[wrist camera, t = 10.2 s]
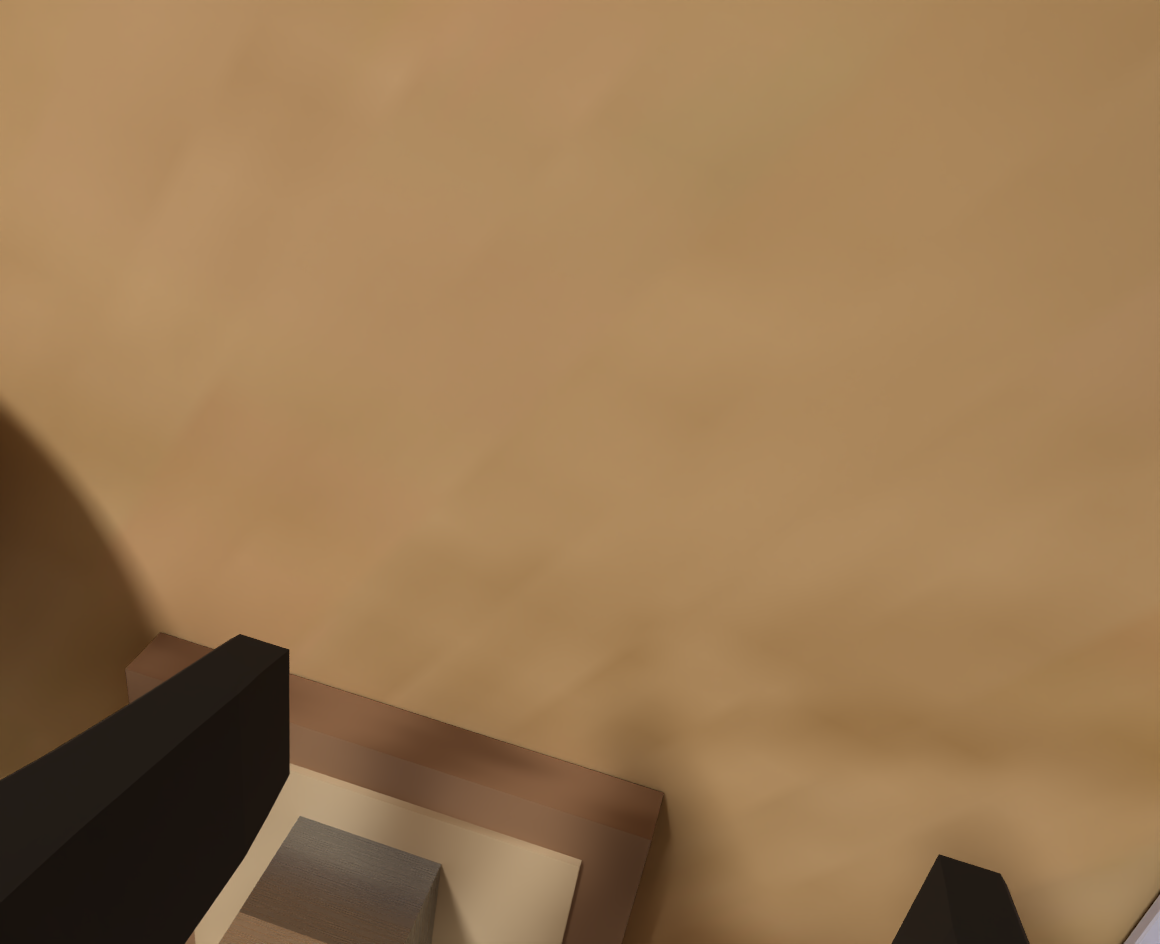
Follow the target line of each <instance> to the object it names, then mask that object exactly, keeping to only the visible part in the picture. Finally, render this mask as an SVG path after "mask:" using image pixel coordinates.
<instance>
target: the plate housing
mask: <svg viewBox="0 0 1160 944" xmlns="http://www.w3.org/2000/svg"><path fill="white" fill-rule="evenodd" d="M440 871H441V864H440V863H437V862H434V861H431V860H428V859H425V858H422V857H419V856H416V855H414V854H411V853H408V852H405V851H402V850H399V849H396V848H393V847H390V846H387V845H384V844H381V843H378V842H375V841H372V840H370V839H367V838H364V837H361V836H358V835H355V834H352V833H349V832H346V831H343V830H340V829H337V828H334V827H331V826H328V825H326V824H323V823H320V822H317V821H314V820H311V819H308V818H305V817H302V816H299V818H298V819H297V821H296V823H295V824H294V826H293V827H292V829H291V830H290V832H289V834H288V835H287V837H286V838H285V840H284V841H283V843H282V845H281V846H280V848H279V849H278V851H277V852H276V854H275V856H274V857H273V859H272V860H271V862H270V863H269V865H268V867H267V868H266V870H265V871H264V873H263V874H262V876H261V878H260V879H259V881H258V882H257V884H256V885H255V887H254V889H253V890H252V892H251V893H250V895H249V897H248V898H247V900H246V901H245V903H244V904H243V906H242V908H241V909H240V911H239V912H238V914H237V915H236V917H235V919H234V920H233V922H232V923H231V925H230V926H229V928H228V930H227V931H226V933H225V934H224V936H223V937H222V939H221V941H220V942H219V944H432V936H433V928H434V920H435V911H436V903H437V895H438V887H439V879H440Z"/></svg>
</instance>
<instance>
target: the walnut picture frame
mask: <svg viewBox="0 0 1160 944" xmlns="http://www.w3.org/2000/svg"><path fill="white" fill-rule="evenodd" d="M213 650H214V649H210V648H207V647H204V646H201V645H198V644H195V643H192V642H188V641H185V640H182V639H179V638H176V637H173V636H170V635H167V634H163V633H159V634H158V635H157V636H156V637H155V638H154V640H153V641H152V642H151V643H150V644H149V645H148V646H147V647H146V648H145V649H144V650H143V651H142V652H141V653H140V654H139V655H138V656H137V657H136V658H135V659H134V660H133V661H132V662H131V663H130V664H129V665H128V666H127V667H126V668H125V672H126V680H127V688H128V696H129V704H130V703H131V702H133V701H135V700H136V699H138V698H139V697H141V696H142V695H144V694H146V693H147V692H149V691H150V690H152V689H153V688H155V687H157V686H158V685H160V684H161V683H163V682H164V681H166V680H168V679H169V678H171V677H172V676H174V675H175V674H177V673H178V672H180V671H182V670H183V669H185V668H186V667H188V666H189V665H191V664H192V663H194V662H195V661H197V660H199V659H200V658H202V657H203V656H205V655H206V654H208V653H209V652H211V651H213ZM289 709H290V775H289V777H288V779H287V781H286V782H285V784H284V786H283V788H282V790H281V792H280V794H279V796H278V798H277V800H276V801H275V803H274V805H273V807H272V809H271V811H270V813H269V815H268V817H267V819H266V820H265V822H264V824H263V826H262V828H261V829H260V831H259V833H258V835H257V837H256V838H255V840H254V842H253V844H252V846H251V847H250V849H249V851H248V853H247V855H246V856H245V858H244V859H243V861H242V862H241V864H240V865H239V867H238V868H237V870H236V871H235V872H234V874H233V875H232V877H231V878H230V880H229V881H228V883H227V884H226V886H225V887H224V888H223V890H222V891H221V893H220V894H219V896H218V897H217V898H216V900H215V901H214V903H213V904H212V906H211V907H210V909H209V910H208V911H207V913H206V914H205V916H204V917H203V919H202V920H201V921H200V923H199V924H198V926H197V927H196V929H195V930H194V931H193V933H192V934H191V936H190V937H189V938H188V940H187V941H186V943H185V944H219V942H220V941H221V939H222V937H223V936H224V934H225V933H226V931H227V930H228V928H229V926H230V925H231V923H232V922H233V920H234V919H235V917H236V915H237V914H238V912H239V911H240V909H241V908H242V906H243V904H244V903H245V901H246V900H247V898H248V897H249V895H250V893H251V892H252V890H253V889H254V887H255V885H256V884H257V882H258V881H259V879H260V878H261V876H262V874H263V873H264V871H265V870H266V868H267V867H268V865H269V863H270V862H271V860H272V859H273V857H274V856H275V854H276V852H277V851H278V849H279V848H280V846H281V845H282V843H283V841H284V840H285V838H286V837H287V835H288V834H289V832H290V830H291V829H292V827H293V826H294V824H295V823H296V821H297V819H298V818H299V816H302V817H305V818H308V819H311V820H314V821H317V822H320V823H323V824H326V825H328V826H331V827H334V828H337V829H340V830H343V831H346V832H349V833H352V834H355V835H358V836H361V837H364V838H367V839H370V840H372V841H375V842H378V843H381V844H384V845H387V846H390V847H393V848H396V849H399V850H402V851H405V852H408V853H411V854H414V855H416V856H419V857H422V858H425V859H428V860H431V861H434V862H437V863H440V864H441V871H440V879H439V887H438V895H437V903H436V911H435V920H434V928H433V936H432V944H622V941H623V937H624V934H625V931H626V927H627V924H628V920H629V917H630V913H631V910H632V906H633V903H634V900H635V896H636V893H637V889H638V886H639V882H640V879H641V875H642V872H643V868H644V865H645V862H646V858H647V855H648V851H649V848H650V844H651V841H652V837H653V833H654V829H655V825H656V821H657V818H658V814H659V810H660V806H661V802H662V798H663V794H664V793H662V792H659V791H656V790H653V789H650V788H647V787H643V786H640V785H637V784H634V783H631V782H628V781H625V780H621V779H618V778H615V777H612V776H609V775H606V774H603V773H600V772H596V771H593V770H590V769H587V768H584V767H581V766H578V765H574V764H571V763H568V762H565V761H562V760H559V759H556V758H552V757H549V756H546V755H543V754H540V753H537V752H534V751H530V750H527V749H524V748H521V747H518V746H515V745H512V744H509V743H505V742H502V741H499V740H496V739H493V738H490V737H487V736H483V735H480V734H477V733H474V732H471V731H468V730H465V729H461V728H458V727H455V726H452V725H449V724H446V723H443V722H440V721H436V720H433V719H430V718H427V717H424V716H421V715H418V714H414V713H411V712H408V711H405V710H402V709H399V708H396V707H392V706H389V705H386V704H383V703H380V702H377V701H374V700H370V699H367V698H364V697H361V696H358V695H355V694H352V693H349V692H345V691H342V690H339V689H336V688H333V687H330V686H327V685H323V684H320V683H317V682H314V681H311V680H308V679H305V678H301V677H298V676H295V675H292V674H289Z"/></svg>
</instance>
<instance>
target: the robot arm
mask: <svg viewBox="0 0 1160 944" xmlns="http://www.w3.org/2000/svg"><path fill="white" fill-rule="evenodd" d="M289 775H290V709H289V649H286V648H282V647H279V646H276V645H273V644H270V643H266V642H263V641H260V640H257V639H254V638H251V637H247V636H244V635H241V634H239V635H237V636H236V637H234V638H232V639H230V640H229V641H227V642H225V643H224V644H222V645H221V646H219V647H217V648H216V649H214V650H213V651H211V652H209V653H208V654H206V655H205V656H203V657H202V658H200V659H199V660H197V661H195V662H194V663H192V664H191V665H189V666H188V667H186V668H185V669H183V670H182V671H180V672H178V673H177V674H175V675H174V676H172V677H171V678H169V679H168V680H166V681H164V682H163V683H161V684H160V685H158V686H157V687H155V688H153V689H152V690H150V691H149V692H147V693H146V694H144V695H142V696H141V697H139V698H138V699H136V700H135V701H133V702H131V703H130V704H128V705H127V706H125V707H124V708H122V709H120V710H119V711H117V712H115V713H114V714H112V715H111V716H109V717H107V718H106V719H104V720H102V721H101V722H99V723H97V724H96V725H94V726H92V727H91V728H89V729H88V730H86V731H84V732H83V733H81V734H79V735H78V736H76V737H74V738H73V739H71V740H69V741H68V742H66V743H64V744H63V745H61V746H60V747H58V748H56V749H55V750H53V751H51V752H49V753H48V754H46V755H44V756H43V757H41V758H39V759H37V760H36V761H34V762H32V763H30V764H29V765H27V766H25V767H23V768H21V769H20V770H18V771H16V772H14V773H12V774H11V775H9V776H7V777H5V778H3V779H2V780H0V944H185V943H186V941H187V940H188V938H189V937H190V936H191V934H192V933H193V931H194V930H195V929H196V927H197V926H198V924H199V923H200V921H201V920H202V919H203V917H204V916H205V914H206V913H207V911H208V910H209V909H210V907H211V906H212V904H213V903H214V901H215V900H216V898H217V897H218V896H219V894H220V893H221V891H222V890H223V888H224V887H225V886H226V884H227V883H228V881H229V880H230V878H231V877H232V875H233V874H234V872H235V871H236V870H237V868H238V867H239V865H240V864H241V862H242V861H243V859H244V858H245V856H246V855H247V853H248V851H249V849H250V847H251V846H252V844H253V842H254V840H255V838H256V837H257V835H258V833H259V831H260V829H261V828H262V826H263V824H264V822H265V820H266V819H267V817H268V815H269V813H270V811H271V809H272V807H273V805H274V803H275V801H276V800H277V798H278V796H279V794H280V792H281V790H282V788H283V786H284V784H285V782H286V781H287V779H288V777H289ZM892 944H1029V941H1028V939H1027V936H1026V934H1025V931H1024V928H1023V926H1022V923H1021V921H1020V918H1019V916H1018V913H1017V910H1016V908H1015V905H1014V903H1013V900H1012V897H1011V895H1010V892H1009V890H1008V887H1007V884H1006V883H1005V881H1004V879H1003V878H1002V876H1001V874H1000V873H996V872H993V871H990V870H987V869H984V868H981V867H977V866H974V865H971V864H968V863H965V862H962V861H958V860H955V859H952V858H949V857H946V856H943V855H938V857H937V859H936V861H935V863H934V865H933V867H932V868H931V870H930V872H929V874H928V876H927V878H926V880H925V882H924V884H923V885H922V887H921V889H920V891H919V893H918V895H917V897H916V899H915V901H914V902H913V904H912V906H911V908H910V910H909V912H908V914H907V916H906V918H905V919H904V921H903V923H902V925H901V927H900V929H899V931H898V933H897V935H896V936H895V938H894V940H893V942H892ZM1124 944H1160V895H1159V896H1158V898H1157V899H1156V900H1155V902H1154V903H1153V904H1152V906H1151V907H1150V909H1149V910H1148V911H1147V913H1146V914H1145V915H1144V917H1143V918H1142V919H1141V921H1140V922H1139V923H1138V925H1137V926H1136V928H1135V929H1134V930H1133V932H1132V933H1131V934H1130V936H1129V937H1128V938H1127V940H1126V941H1125V943H1124Z"/></svg>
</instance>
